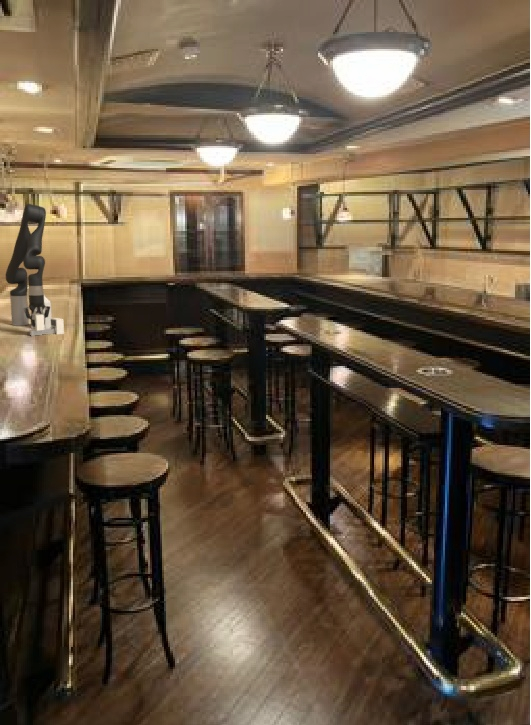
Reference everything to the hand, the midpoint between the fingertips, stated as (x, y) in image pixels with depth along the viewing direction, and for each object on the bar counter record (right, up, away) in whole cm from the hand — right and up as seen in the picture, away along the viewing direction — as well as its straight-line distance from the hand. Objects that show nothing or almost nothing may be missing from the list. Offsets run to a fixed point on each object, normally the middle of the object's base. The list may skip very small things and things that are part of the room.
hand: (38, 325), depth 331 cm
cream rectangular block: (0, -2, 0) cm, 2 cm away
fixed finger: (+8, -4, +8) cm, 12 cm away
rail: (+3, -4, +4) cm, 7 cm away
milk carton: (-5, 0, +23) cm, 24 cm away
